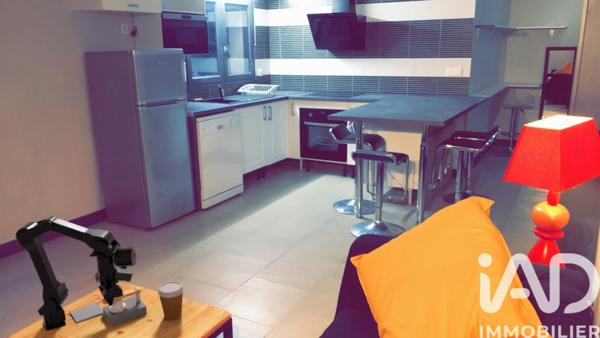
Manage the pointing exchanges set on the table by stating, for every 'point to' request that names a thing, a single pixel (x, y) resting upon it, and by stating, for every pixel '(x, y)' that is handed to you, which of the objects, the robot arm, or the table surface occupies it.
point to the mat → (86, 312)
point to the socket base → (126, 310)
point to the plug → (117, 306)
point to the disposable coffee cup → (171, 299)
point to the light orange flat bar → (125, 294)
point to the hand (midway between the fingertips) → (110, 305)
